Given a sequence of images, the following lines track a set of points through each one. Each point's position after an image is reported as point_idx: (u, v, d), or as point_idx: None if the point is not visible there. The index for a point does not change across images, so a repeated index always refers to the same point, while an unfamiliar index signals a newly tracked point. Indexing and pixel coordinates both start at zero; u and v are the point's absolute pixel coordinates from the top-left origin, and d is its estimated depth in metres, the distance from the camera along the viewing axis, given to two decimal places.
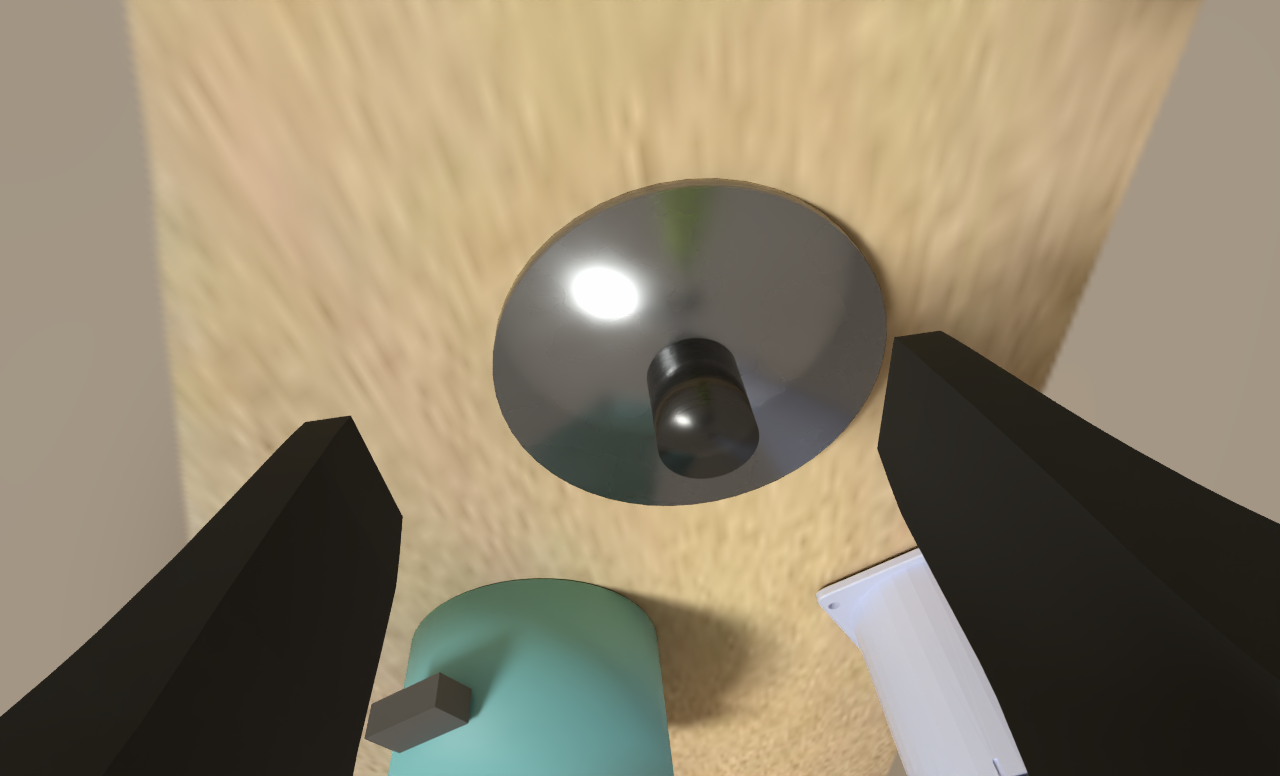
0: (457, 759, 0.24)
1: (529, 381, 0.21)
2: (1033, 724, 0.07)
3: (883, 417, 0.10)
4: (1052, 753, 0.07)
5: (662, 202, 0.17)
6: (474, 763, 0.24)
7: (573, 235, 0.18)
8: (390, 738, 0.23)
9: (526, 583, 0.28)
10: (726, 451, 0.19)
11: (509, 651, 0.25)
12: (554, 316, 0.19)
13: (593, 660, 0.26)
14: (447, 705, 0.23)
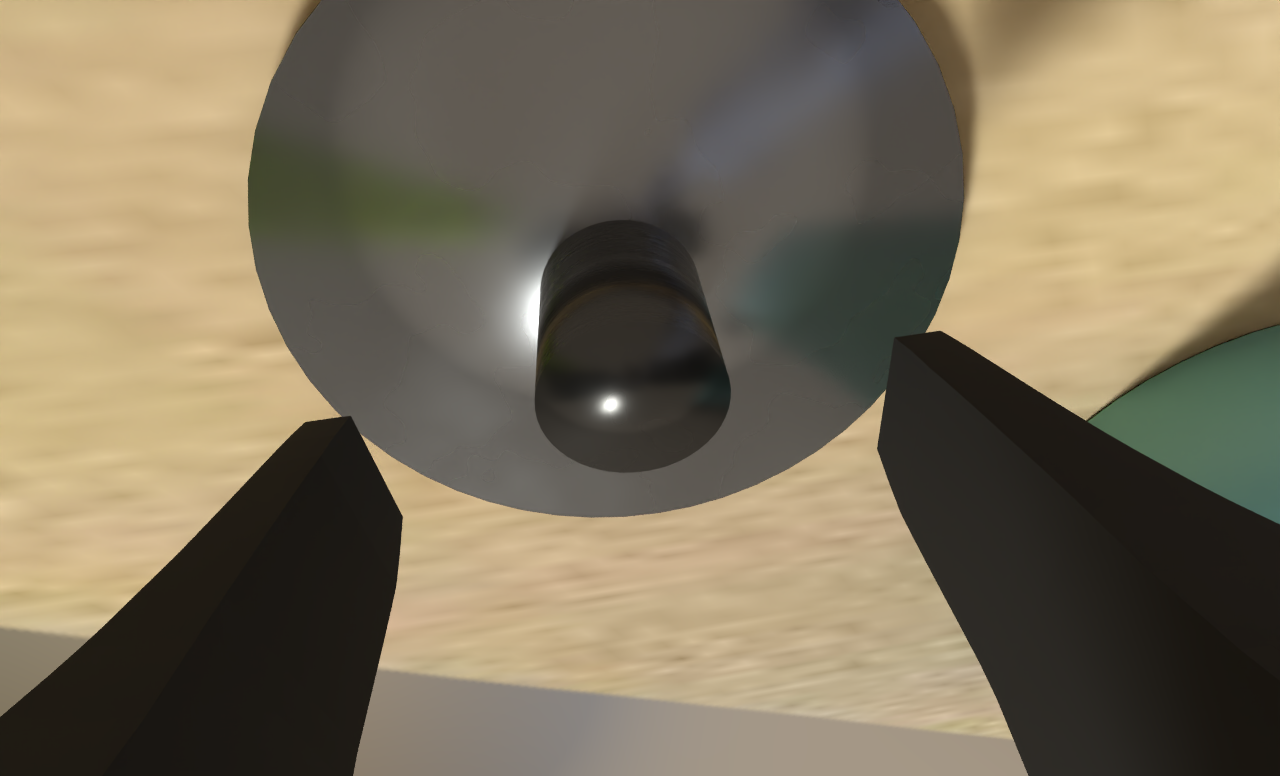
0: None
1: (606, 485, 0.15)
2: (1033, 724, 0.07)
3: (883, 417, 0.10)
4: (1051, 753, 0.07)
5: (300, 344, 0.12)
6: None
7: (371, 437, 0.14)
8: None
9: None
10: (661, 375, 0.09)
11: None
12: (499, 458, 0.14)
13: None
14: None
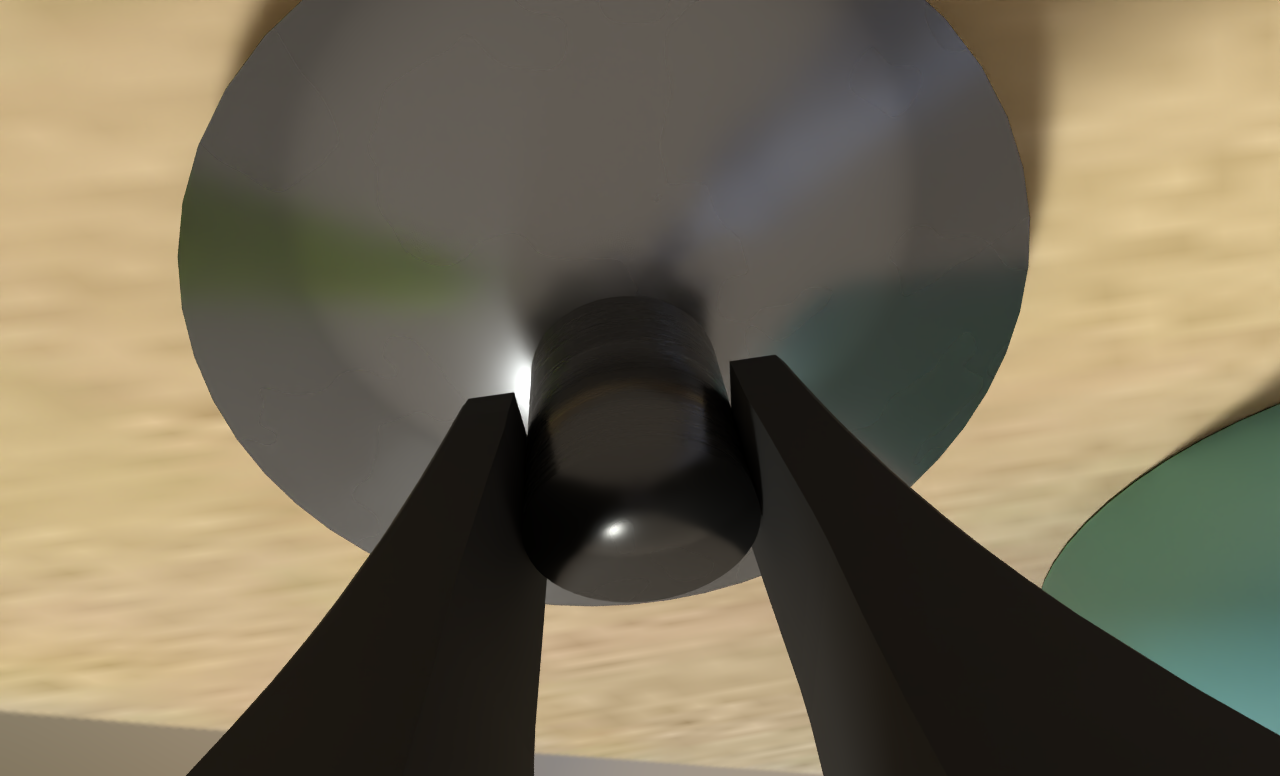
0: None
1: None
2: (827, 753, 0.07)
3: None
4: None
5: (251, 435, 0.10)
6: None
7: (339, 530, 0.12)
8: None
9: (1065, 559, 0.16)
10: (676, 502, 0.08)
11: None
12: None
13: (1269, 617, 0.12)
14: None
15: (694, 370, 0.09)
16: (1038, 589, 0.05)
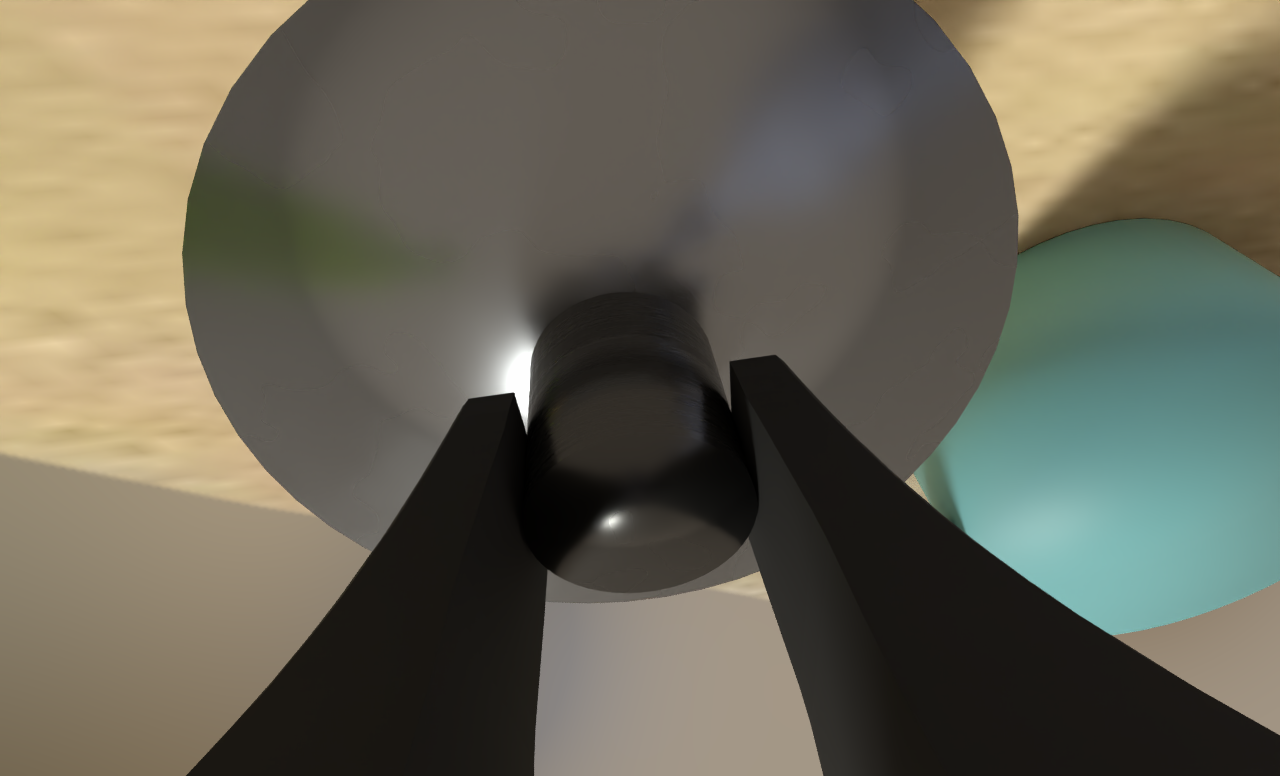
0: None
1: None
2: (827, 753, 0.07)
3: None
4: None
5: (252, 431, 0.11)
6: (1044, 564, 0.18)
7: (339, 527, 0.12)
8: None
9: None
10: (675, 491, 0.08)
11: (938, 451, 0.19)
12: None
13: (1010, 372, 0.17)
14: None
15: (691, 363, 0.09)
16: (1038, 589, 0.05)
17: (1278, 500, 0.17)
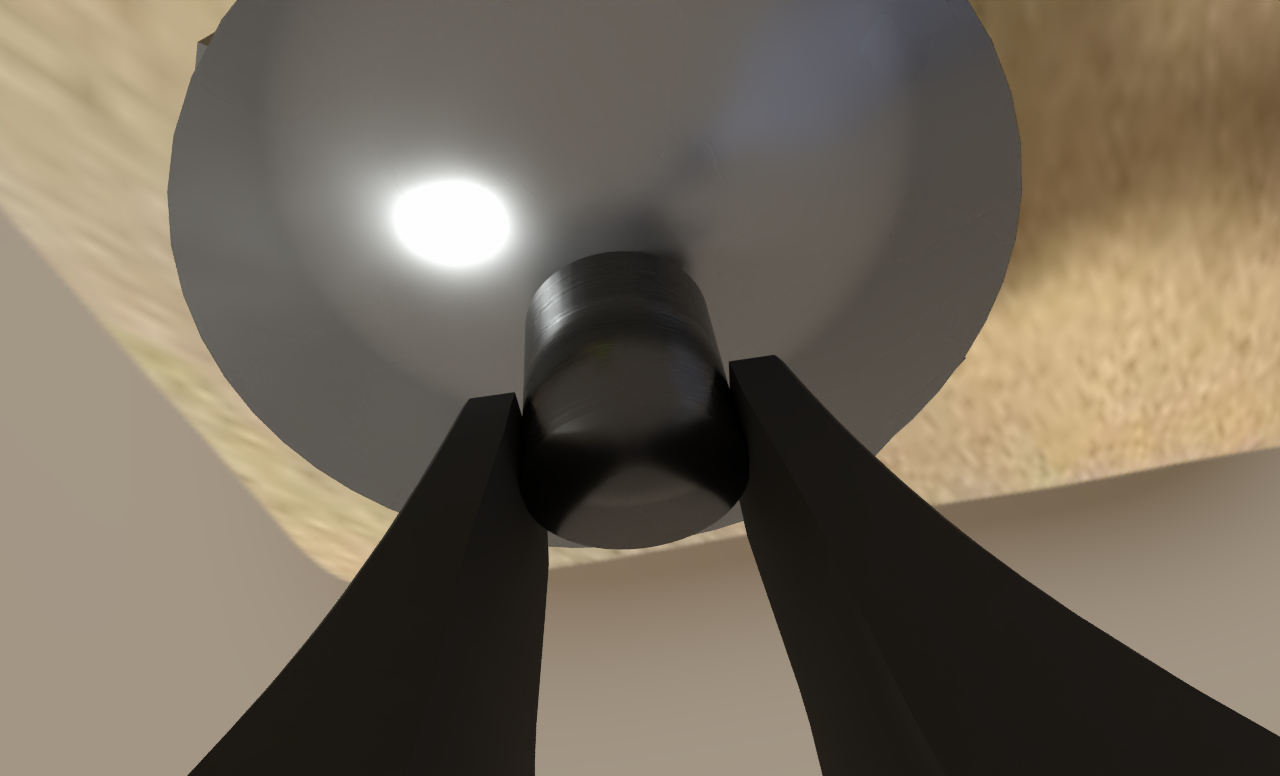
0: None
1: None
2: (826, 753, 0.07)
3: None
4: None
5: (240, 374, 0.10)
6: None
7: (327, 470, 0.12)
8: None
9: None
10: (671, 457, 0.08)
11: None
12: None
13: None
14: None
15: (691, 329, 0.09)
16: (1037, 589, 0.05)
17: None
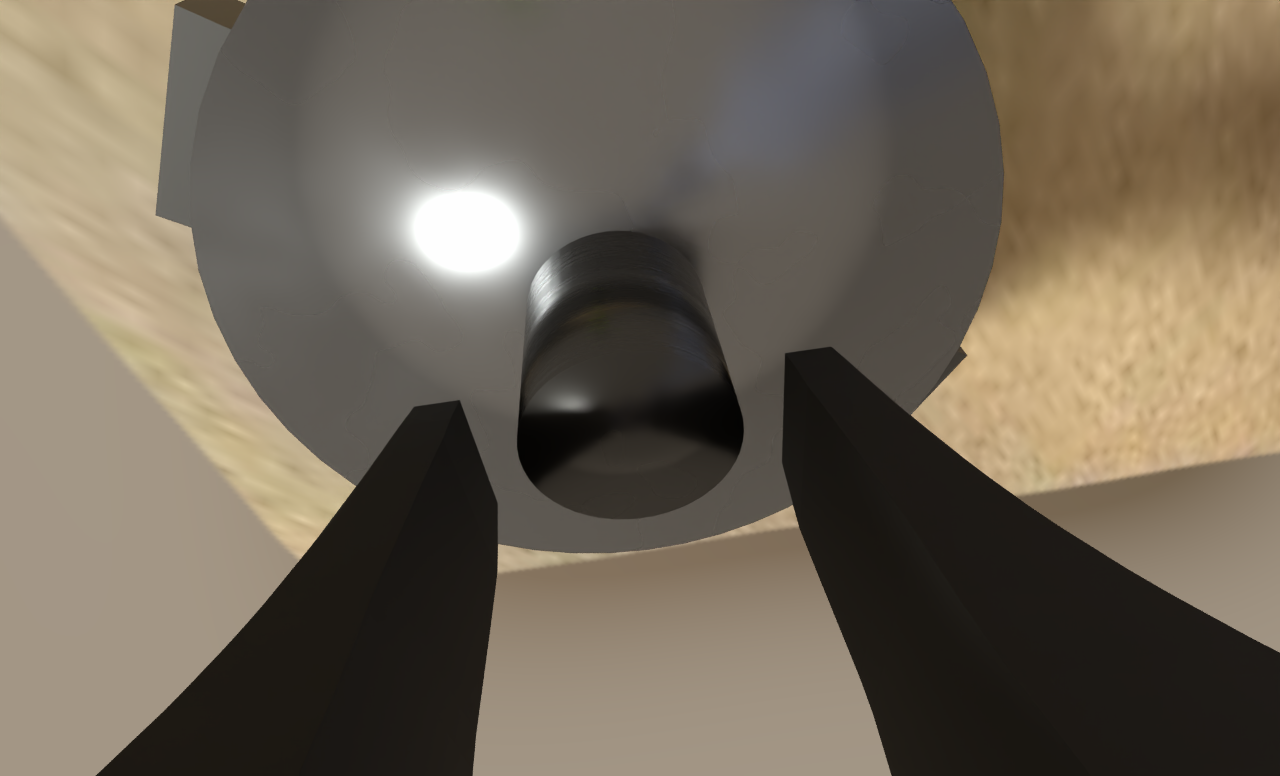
0: None
1: (590, 519, 0.14)
2: (897, 743, 0.07)
3: (783, 431, 0.10)
4: (910, 773, 0.07)
5: (249, 356, 0.11)
6: None
7: (330, 461, 0.12)
8: None
9: None
10: (665, 413, 0.08)
11: None
12: None
13: None
14: (227, 21, 0.09)
15: (685, 297, 0.09)
16: (1136, 575, 0.05)
17: None
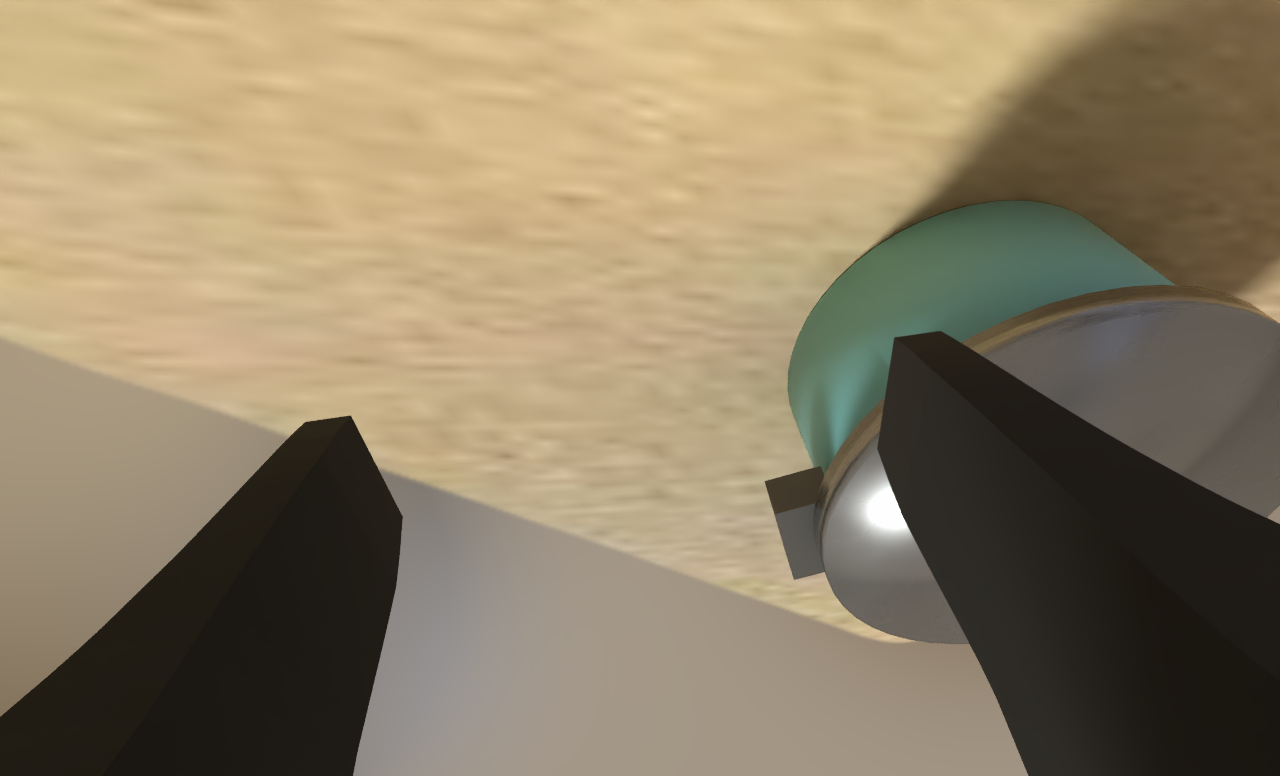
0: None
1: None
2: (1032, 724, 0.07)
3: (883, 417, 0.10)
4: (1051, 753, 0.07)
5: (877, 622, 0.20)
6: None
7: (935, 641, 0.21)
8: (810, 563, 0.20)
9: (805, 328, 0.21)
10: None
11: (826, 401, 0.19)
12: None
13: (903, 322, 0.17)
14: (792, 502, 0.18)
15: None
16: None
17: None
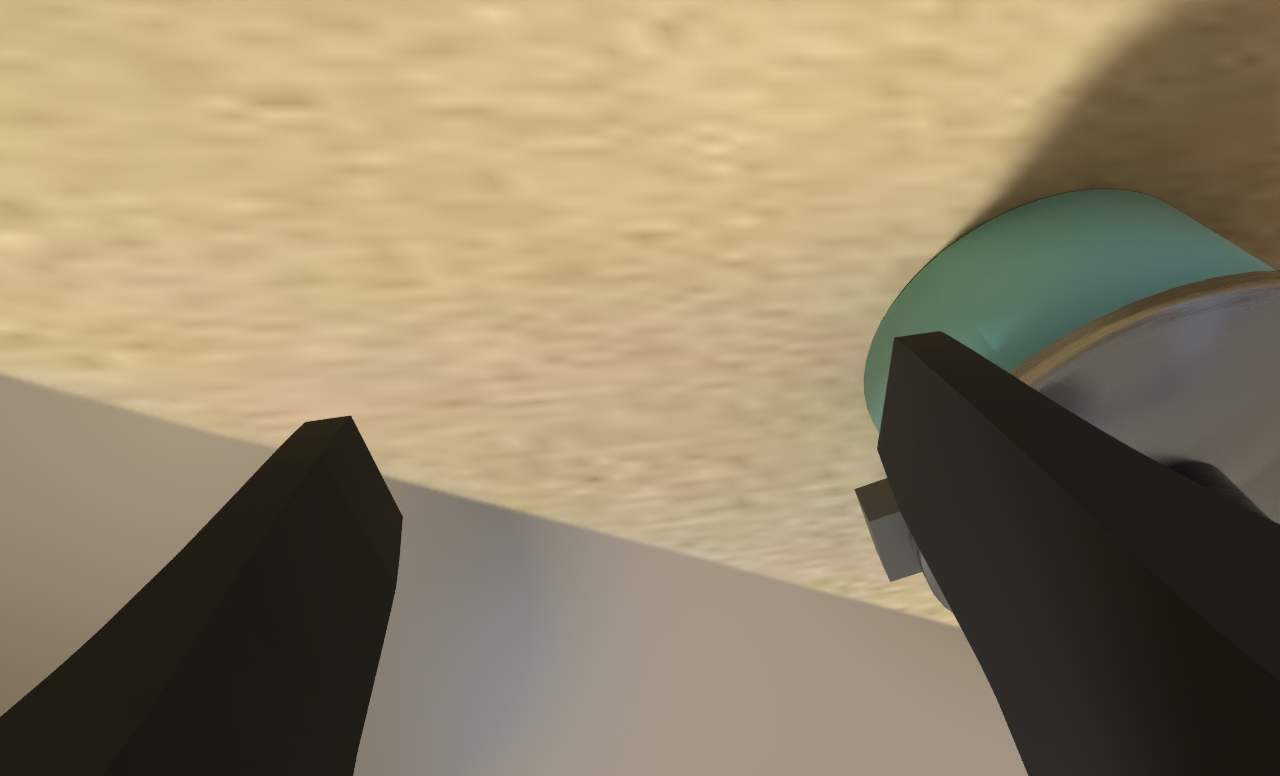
0: None
1: None
2: (1032, 724, 0.07)
3: (883, 417, 0.10)
4: (1051, 753, 0.07)
5: None
6: None
7: None
8: (906, 564, 0.20)
9: (879, 334, 0.22)
10: None
11: None
12: None
13: (983, 326, 0.18)
14: (885, 508, 0.19)
15: None
16: None
17: None
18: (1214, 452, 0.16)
